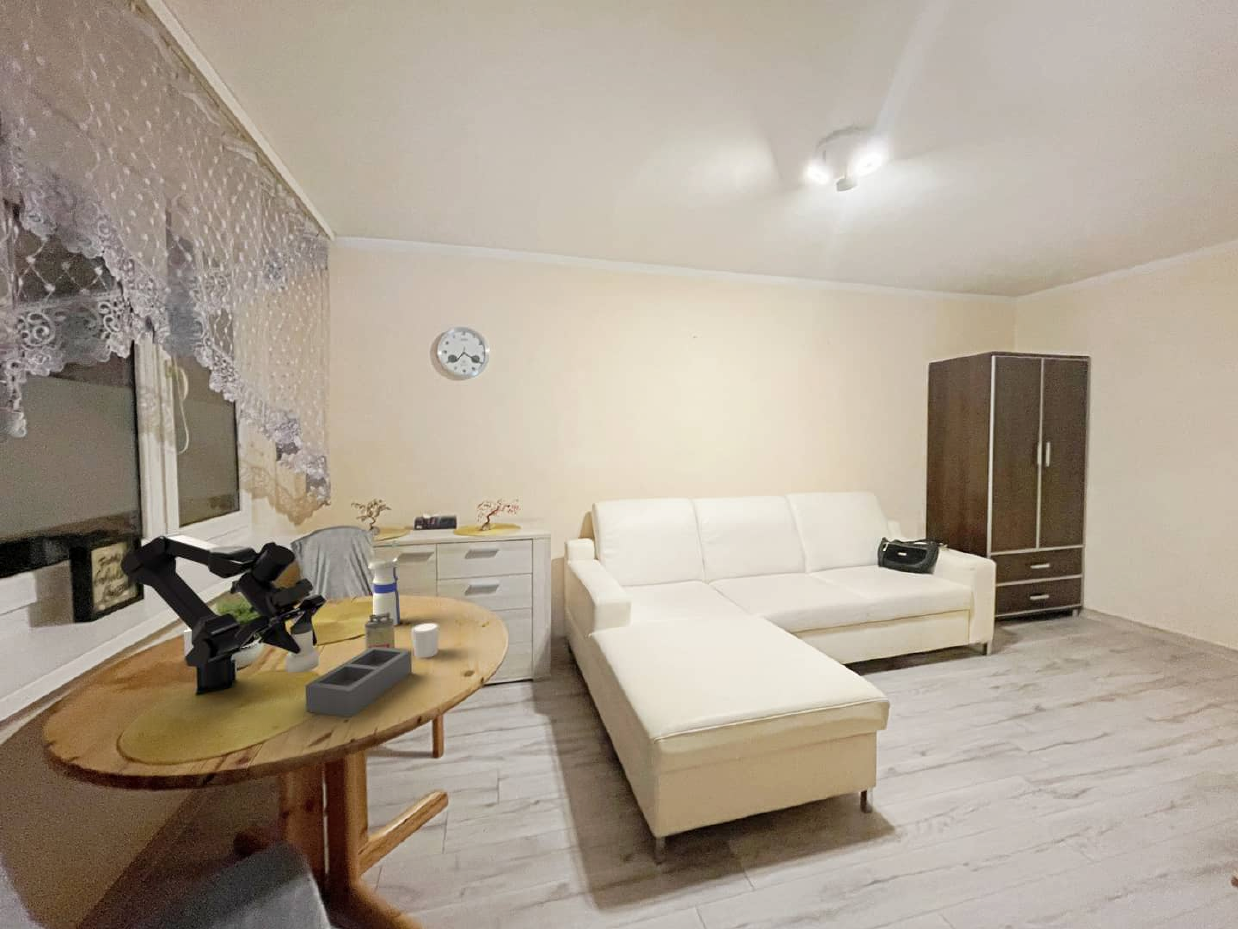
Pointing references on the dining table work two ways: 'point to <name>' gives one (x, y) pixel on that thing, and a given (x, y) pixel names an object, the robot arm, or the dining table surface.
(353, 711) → the compartment tray
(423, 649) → the shot glass
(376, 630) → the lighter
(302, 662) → the plug
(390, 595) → the white spray bottle
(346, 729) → the dining table surface
